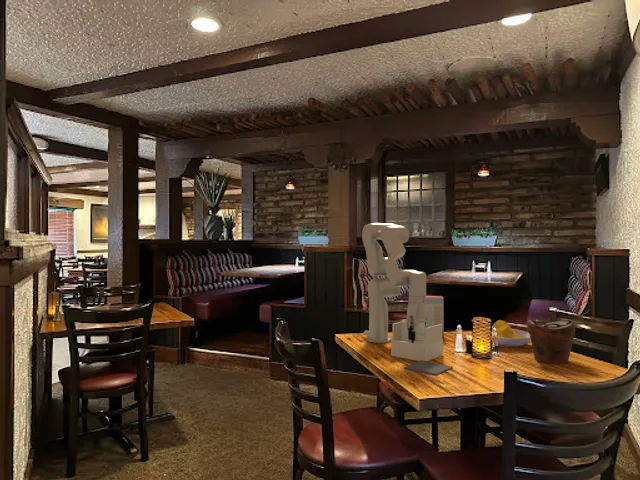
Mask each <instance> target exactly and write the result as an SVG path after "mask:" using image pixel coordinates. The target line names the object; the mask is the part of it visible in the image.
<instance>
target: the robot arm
mask: <svg viewBox="0 0 640 480" xmlns="http://www.w3.org/2000/svg"><path fill="white" fill-rule="evenodd" d="M361 237H362V238H361V239H362V243H363V247H364V248H365V253H366V261H367V269H368V273H369V275H370V276H373V277H378V278H373V279H371V280H369V282H368V283H367V286H366V287H367V295H368V302H369V303H368V304H369V305H368V309H369V311H368V312H369V313H368V315H369V317H368V318H369V319H368V321H369V322H368V323H369V325H368V329H369V330H364V331H363V335H366V338H365V340H366V342H370V343H377V344H384V343H385V344H386V343H389V342H391V340H392V338H391V337H389V333H388V332H389V306H388V302H387V301H386V300H385V299H386V298H391V297H397V296H399V295H400V294H401V291H402V287H408V304H407V307H406V308H407V309H406V320H405V321H406V325H407V328H408V340H413V341H415V327H416V326H418V325H419V321H420V319H424V320H425V325H426V321H427V317H426V305H425V303H426V296H427V274H426V272H424V271H418V270H415V269H399V264H398V261H397V260H399V259H401V258H403V257H404V256H405V253H406V248H405V246H404V244H405V243H407V242H408V241H409V238H410V231H409V230H408V228H407V227H406V226H404V225H400V224H395V223H386V222H385V223H382V222H373V223H368V224H365V225H364V227H363V229H362V232H361ZM377 240H381V241H382V243H383V246H384V248H385V250H386V254H387V255H388V257H384V253H383V252H384V251H383V248H382V246H381V245H380V243H379V242H378V241H377ZM379 277H380V278H379ZM381 277H383V278H381ZM384 277H387V278H384ZM412 320H413V322H414V324H412ZM412 326H413V328H412ZM425 327H426V326H425ZM424 337H425V334H424Z"/></svg>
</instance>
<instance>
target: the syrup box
mask: <svg viewBox="0 0 640 480" xmlns="http://www.w3.org/2000/svg"><path fill="white" fill-rule="evenodd" d="M412 324H414V322H413V320H412ZM412 328H413V326H412ZM424 334H425V320H424V319H420V321H419V325H418V326H416V327H415V341H413V340H409V342H410V343H416V344H422V345H424Z"/></svg>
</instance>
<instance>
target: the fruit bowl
mask: <svg viewBox="0 0 640 480" xmlns="http://www.w3.org/2000/svg"><path fill="white" fill-rule="evenodd" d="M473 320H474V319H471V320H470V321H471V323H473ZM493 327H495V328H496V329H497V341H498V346H497V347H499V348H519V347H522V346H525V345H527V344H530V343H531V338H530V334H529V333H528V331H526V330H520V329H518V328H517V329H516V328H511V325H510V324H509V323H508V322H507V321H505V320H501V319H499V320H496V322H494V323H493V325H492V326H491V328H493Z"/></svg>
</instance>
